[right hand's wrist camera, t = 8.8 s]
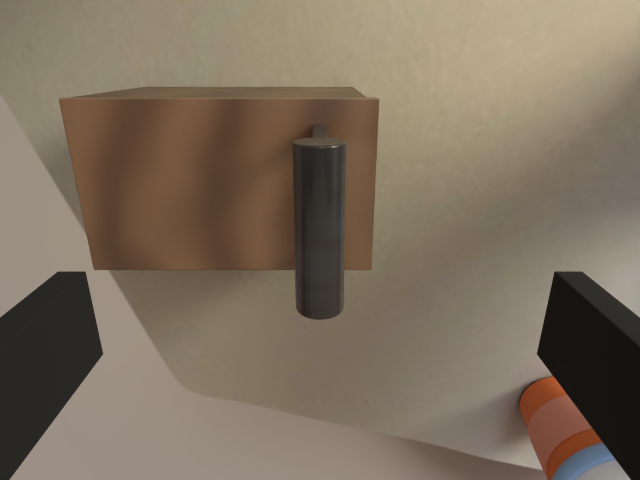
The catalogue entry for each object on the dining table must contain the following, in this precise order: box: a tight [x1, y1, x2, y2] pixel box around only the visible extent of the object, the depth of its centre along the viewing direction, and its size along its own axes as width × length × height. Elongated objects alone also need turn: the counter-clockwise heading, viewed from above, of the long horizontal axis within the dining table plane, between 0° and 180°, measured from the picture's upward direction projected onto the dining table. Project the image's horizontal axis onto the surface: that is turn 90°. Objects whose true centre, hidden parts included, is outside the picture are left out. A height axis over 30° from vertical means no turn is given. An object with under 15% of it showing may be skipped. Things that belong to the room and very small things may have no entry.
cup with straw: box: [520, 377, 630, 480], centre depth 37 cm, size 9×9×18 cm
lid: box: [59, 97, 379, 319], centre depth 22 cm, size 17×10×8 cm, turn 90°
